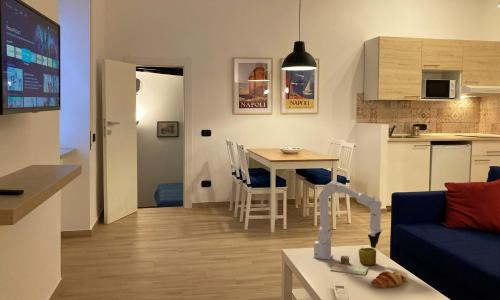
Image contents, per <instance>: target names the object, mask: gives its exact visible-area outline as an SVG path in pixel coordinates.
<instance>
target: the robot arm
mask: <svg viewBox="0 0 500 300" xmlns="http://www.w3.org/2000/svg"><path fill="white" fill-rule="evenodd" d="M335 193H336V194H342V193H343V194H345V195H348V196H349V197H352V198H354V199H356V202H358V203H359V204H362V205H363V206H365V207H367V208H369V210H370V212H369V229H368V231H369V232H370V233H369V234H367V237H368V239H369V241H370V248H374V249H376V248H377V245H378V243H379V240H380V235H381V233H382V232H383V229H381V224H382V222H381V219H382V217H381V216H382V214H381V212H382V211H381V208H382V206H383V205H382V201H381V200H380V199H379V198H375V197H373V196H370V195H368V194H367V192H357V191H356V190H354V189H352V188H350V187H348V186H346V185H345V184H343V183H341V182H338V181H336V180H331V181H330V182H329V183H327V184H326V185H324V186H323V187H322V189H321V191H320V192H319V194H318V195H319V196H318V199H319V200H318V203H319V229H318V235H317V240H315V241H314V244H313V258H314V259H319V260H320V259H322V260H328V261H329V260H331V259H332V258H333V256H334V255H333V254H332V240H331V239H332V235H333V232H332V230H331V225H330V218H329V217H330V215H329V209H330V208H329V198H330V197H331V196H332V195H335Z"/></svg>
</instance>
